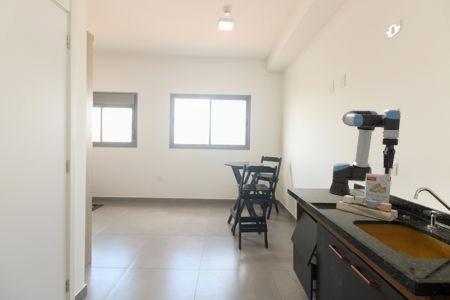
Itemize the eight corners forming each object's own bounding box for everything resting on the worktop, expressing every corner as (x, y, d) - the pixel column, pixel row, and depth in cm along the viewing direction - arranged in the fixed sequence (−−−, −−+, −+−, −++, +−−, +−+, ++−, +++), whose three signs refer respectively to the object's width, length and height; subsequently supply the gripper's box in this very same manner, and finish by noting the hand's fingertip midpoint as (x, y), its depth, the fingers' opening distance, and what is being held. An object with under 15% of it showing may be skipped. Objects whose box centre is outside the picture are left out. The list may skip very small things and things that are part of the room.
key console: (345, 205, 180) (345, 199, 180) (397, 217, 158) (397, 210, 157) (336, 208, 172) (336, 202, 172) (389, 221, 150) (390, 214, 149)
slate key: (369, 209, 165) (370, 199, 165) (377, 211, 162) (378, 201, 161) (366, 210, 162) (367, 200, 162) (374, 212, 159) (375, 202, 158)
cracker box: (364, 206, 181) (366, 174, 179) (363, 203, 186) (365, 173, 185) (388, 209, 176) (391, 176, 174) (387, 206, 181) (389, 175, 180)
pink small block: (382, 212, 160) (383, 202, 159) (390, 214, 157) (391, 204, 156) (379, 213, 157) (380, 203, 157) (387, 215, 154) (388, 205, 153)
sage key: (357, 205, 170) (358, 195, 170) (365, 206, 167) (365, 197, 166) (354, 206, 167) (355, 196, 167) (362, 207, 164) (362, 198, 164)
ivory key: (346, 204, 175) (346, 195, 175) (353, 206, 172) (353, 196, 172) (342, 205, 172) (343, 196, 172) (350, 207, 169) (350, 197, 169)
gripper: (387, 137, 162) (383, 177, 164) (378, 137, 154) (375, 179, 156) (401, 138, 157) (398, 179, 159) (394, 138, 148) (390, 182, 150)
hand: (387, 179), depth 157 cm, fingers closed
